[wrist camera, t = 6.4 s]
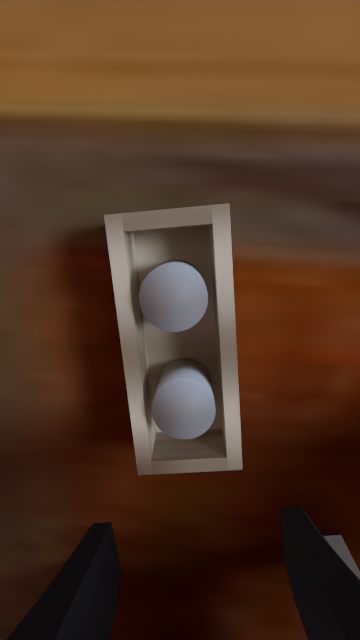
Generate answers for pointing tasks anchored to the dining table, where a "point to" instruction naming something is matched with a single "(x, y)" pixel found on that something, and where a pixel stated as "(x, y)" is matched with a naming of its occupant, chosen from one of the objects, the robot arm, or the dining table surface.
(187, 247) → the tray
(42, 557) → the dining table surface
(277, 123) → the dining table surface
